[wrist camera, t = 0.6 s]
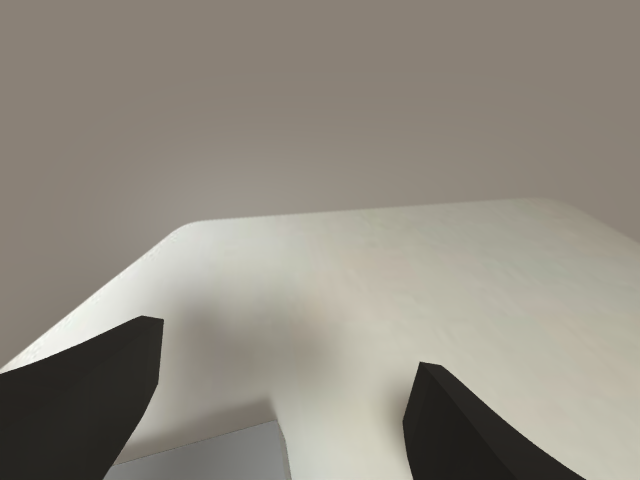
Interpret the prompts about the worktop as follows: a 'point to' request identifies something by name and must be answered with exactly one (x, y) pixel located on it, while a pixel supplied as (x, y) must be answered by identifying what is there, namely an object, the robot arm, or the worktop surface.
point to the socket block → (216, 459)
